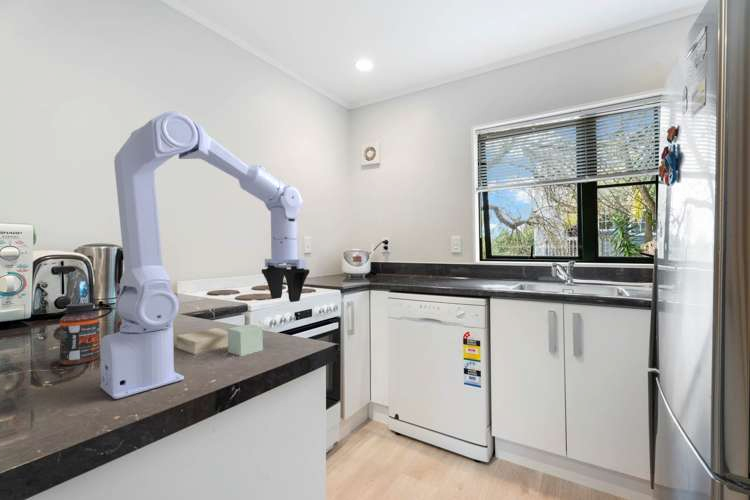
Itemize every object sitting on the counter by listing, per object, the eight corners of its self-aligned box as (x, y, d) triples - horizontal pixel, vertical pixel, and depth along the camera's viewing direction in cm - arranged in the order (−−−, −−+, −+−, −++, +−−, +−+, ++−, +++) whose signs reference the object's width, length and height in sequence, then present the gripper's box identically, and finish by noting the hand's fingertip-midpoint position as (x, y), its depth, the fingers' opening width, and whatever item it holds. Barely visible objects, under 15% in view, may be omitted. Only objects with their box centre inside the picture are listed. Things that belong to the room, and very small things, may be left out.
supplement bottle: (82, 366, 64) (80, 306, 64) (51, 366, 65) (49, 306, 65) (107, 356, 70) (106, 301, 70) (79, 356, 71) (77, 301, 71)
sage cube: (241, 356, 69) (240, 331, 69) (228, 352, 72) (227, 328, 72) (262, 350, 73) (262, 327, 73) (249, 346, 76) (249, 324, 76)
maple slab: (195, 356, 71) (194, 342, 71) (176, 349, 76) (176, 335, 76) (236, 346, 78) (235, 333, 78) (216, 340, 83) (216, 327, 83)
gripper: (318, 238, 75) (319, 300, 75) (282, 240, 85) (283, 295, 85) (290, 238, 70) (291, 304, 70) (256, 240, 80) (257, 298, 80)
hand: (285, 299), depth 77 cm, fingers open, 7 cm apart
